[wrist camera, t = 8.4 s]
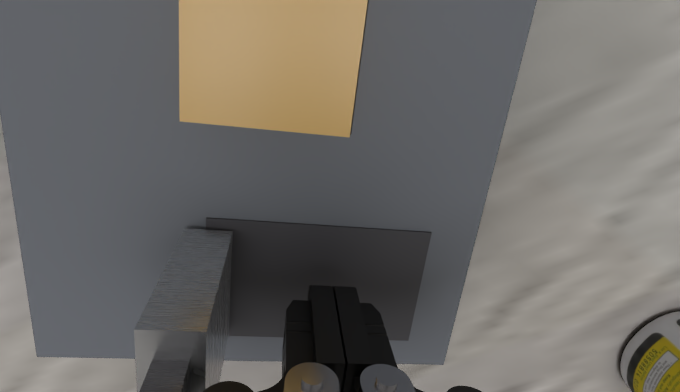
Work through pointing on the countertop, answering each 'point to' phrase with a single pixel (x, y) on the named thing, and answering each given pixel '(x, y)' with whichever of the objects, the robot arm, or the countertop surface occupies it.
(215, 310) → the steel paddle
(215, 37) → the amber button
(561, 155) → the countertop surface
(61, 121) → the panel
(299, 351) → the robot arm
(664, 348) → the supplement bottle
